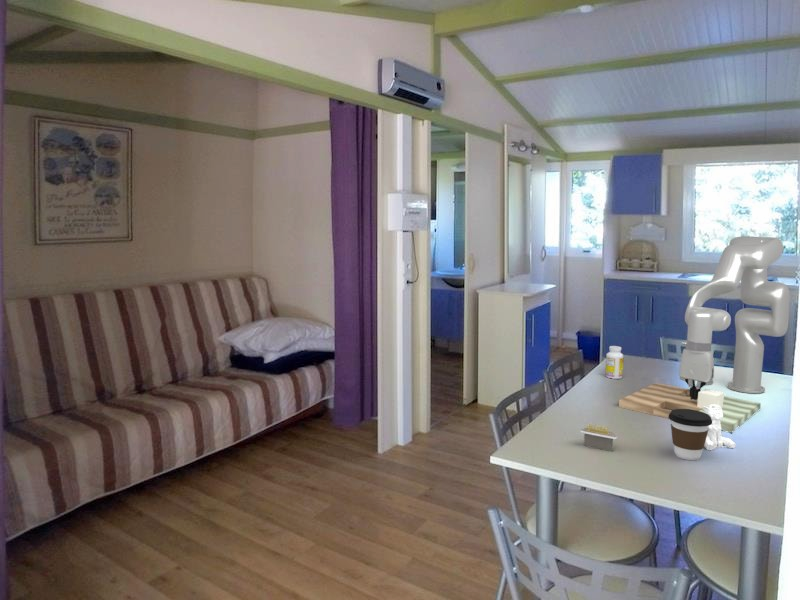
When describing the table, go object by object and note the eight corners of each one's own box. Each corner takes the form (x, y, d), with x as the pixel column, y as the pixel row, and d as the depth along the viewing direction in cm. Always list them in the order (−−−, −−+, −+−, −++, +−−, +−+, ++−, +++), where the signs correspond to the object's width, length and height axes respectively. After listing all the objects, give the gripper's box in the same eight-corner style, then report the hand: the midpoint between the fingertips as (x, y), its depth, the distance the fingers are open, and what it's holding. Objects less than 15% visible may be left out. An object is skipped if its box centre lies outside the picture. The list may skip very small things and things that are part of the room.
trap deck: (655, 388, 234) (655, 382, 234) (760, 409, 210) (760, 402, 209) (618, 406, 212) (619, 399, 211) (731, 432, 187) (732, 425, 186)
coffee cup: (689, 466, 161) (692, 422, 160) (657, 451, 171) (659, 410, 169) (718, 460, 165) (722, 417, 164) (685, 446, 175) (688, 406, 174)
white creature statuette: (707, 451, 172) (711, 410, 170) (687, 440, 180) (690, 401, 178) (736, 449, 174) (740, 408, 172) (715, 438, 182) (718, 399, 180)
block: (704, 403, 209) (705, 388, 208) (722, 407, 204) (723, 392, 204) (697, 406, 204) (698, 392, 204) (716, 410, 200) (717, 396, 199)
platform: (573, 436, 184) (574, 415, 183) (635, 448, 174) (637, 426, 173) (561, 448, 174) (562, 426, 173) (626, 462, 164) (628, 439, 163)
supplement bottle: (620, 375, 254) (621, 345, 252) (624, 379, 247) (626, 348, 246) (603, 375, 255) (605, 345, 253) (607, 379, 248) (609, 348, 246)
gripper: (671, 344, 209) (668, 396, 211) (718, 351, 199) (714, 406, 201) (680, 342, 214) (676, 392, 217) (726, 348, 204) (721, 401, 206)
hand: (694, 398), depth 209 cm, fingers closed
